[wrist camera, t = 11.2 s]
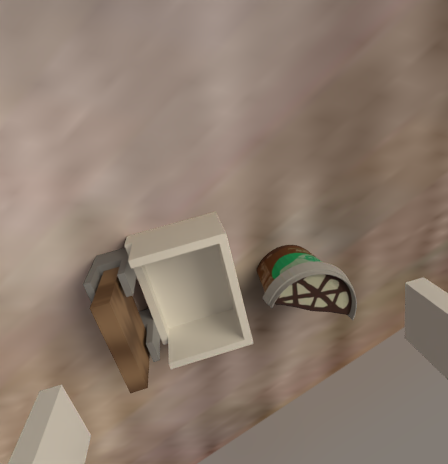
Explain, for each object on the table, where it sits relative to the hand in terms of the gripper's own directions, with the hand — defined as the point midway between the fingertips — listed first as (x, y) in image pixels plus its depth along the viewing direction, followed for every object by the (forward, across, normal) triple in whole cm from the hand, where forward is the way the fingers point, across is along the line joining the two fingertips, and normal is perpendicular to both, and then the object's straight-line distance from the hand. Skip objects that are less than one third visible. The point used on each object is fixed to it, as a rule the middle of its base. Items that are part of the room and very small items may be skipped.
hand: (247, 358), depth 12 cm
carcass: (+31, -6, -13) cm, 34 cm away
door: (+28, -12, -13) cm, 33 cm away
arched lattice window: (+31, +12, -15) cm, 36 cm away
